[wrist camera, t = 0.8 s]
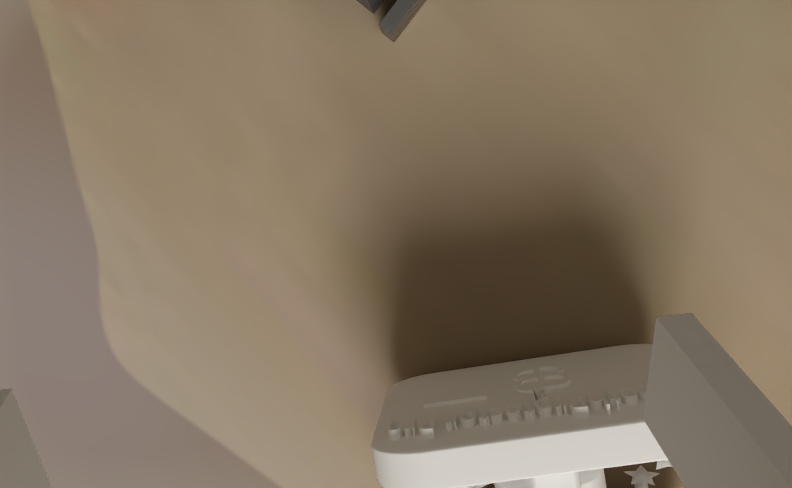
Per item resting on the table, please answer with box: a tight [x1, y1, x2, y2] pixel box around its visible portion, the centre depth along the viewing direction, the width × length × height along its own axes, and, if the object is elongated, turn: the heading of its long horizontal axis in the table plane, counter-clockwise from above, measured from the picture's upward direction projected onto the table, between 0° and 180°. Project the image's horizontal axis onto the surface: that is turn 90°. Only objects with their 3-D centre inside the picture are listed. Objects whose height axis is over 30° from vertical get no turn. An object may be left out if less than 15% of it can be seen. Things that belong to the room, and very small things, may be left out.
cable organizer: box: [371, 344, 672, 488], centre depth 33 cm, size 15×11×12 cm
